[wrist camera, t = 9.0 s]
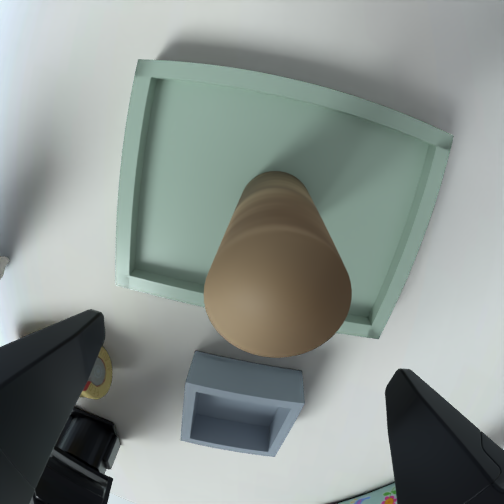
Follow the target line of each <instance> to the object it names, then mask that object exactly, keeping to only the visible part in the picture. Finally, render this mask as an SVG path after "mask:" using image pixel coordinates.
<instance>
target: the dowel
mask: <svg viewBox="0 0 504 504" xmlns="http://www.w3.org/2000/svg"><path fill="white" fill-rule="evenodd" d="M351 300H352V288H351V281H350V278H349V274H348V272H347V270H346V268H345V266H344V263H343V261H342V259H341V257H340V255H339V253H338V251H337V249H336V246H335V244H334V242H333V240H332V238H331V236H330V234H329V232H328V230H327V228H326V226H325V224H324V222H323V220H322V218H321V216H320V214H319V212H318V210H317V208H316V206H315V204H314V202H313V200H312V198H311V196H310V194H309V193H308V191H307V189H306V187H305V186H304V184H303V183H302V182H301V181H300V180H299V179H298V178H296V177H295V176H293V175H291V174H289V173H286V172H281V171H269V172H265V173H262V174H260V175H258V176H256V177H255V178H253V179H252V180H251V181H250V182H249V183H248V184H247V185H246V187H245V189H244V190H243V193H242V195H241V197H240V199H239V202H238V204H237V206H236V209H235V211H234V213H233V215H232V218H231V220H230V222H229V225H228V227H227V229H226V232H225V234H224V236H223V239H222V241H221V244H220V246H219V248H218V251H217V253H216V255H215V258H214V260H213V263H212V265H211V267H210V270H209V272H208V275H207V277H206V281H205V285H204V304H205V309H206V312H207V315H208V317H209V319H210V321H211V323H212V325H213V326H214V328H215V329H216V330H217V332H218V333H219V334H220V335H221V336H222V337H223V338H224V339H226V340H227V341H228V342H229V343H231V344H232V345H234V346H235V347H237V348H239V349H241V350H243V351H245V352H248V353H251V354H254V355H258V356H263V357H274V358H281V357H290V356H296V355H300V354H303V353H306V352H308V351H311V350H313V349H315V348H317V347H319V346H321V345H322V344H323V343H325V342H326V341H328V340H329V339H330V338H331V337H332V336H333V335H334V334H335V333H336V332H337V331H338V330H339V328H340V327H341V326H342V324H343V323H344V321H345V319H346V317H347V315H348V312H349V309H350V305H351Z"/></svg>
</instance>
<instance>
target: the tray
mask: <svg viewBox="0 0 504 504" xmlns="http://www.w3.org/2000/svg"><path fill="white" fill-rule="evenodd" d="M453 137H454V136H453V135H451V134H449V133H447V132H445V131H442V130H440V129H438V128H436V127H434V126H432V125H429V124H427V123H425V122H422V121H420V120H418V119H415V118H413V117H411V116H408V115H406V114H403V113H401V112H398V111H396V110H393V109H390V108H388V107H385V106H382V105H379V104H377V103H374V102H371V101H368V100H365V99H362V98H359V97H356V96H353V95H350V94H346V93H343V92H340V91H336V90H333V89H330V88H326V87H322V86H319V85H315V84H311V83H307V82H303V81H299V80H295V79H290V78H286V77H281V76H277V75H272V74H267V73H262V72H256V71H251V70H245V69H239V68H232V67H225V66H218V65H210V64H201V63H191V62H180V61H165V60H141V59H138V63H137V67H136V72H135V76H134V81H133V86H132V92H131V97H130V103H129V109H128V115H127V121H126V128H125V135H124V142H123V150H122V159H121V168H120V179H119V190H118V204H117V223H116V259H115V277H116V285H117V286H121V287H124V288H128V289H132V290H135V291H139V292H143V293H147V294H151V295H155V296H159V297H163V298H167V299H171V300H175V301H179V302H183V303H187V304H192V305H196V306H200V307H205V304H204V285H205V281H206V277H207V275H208V272H209V270H210V267H211V265H212V263H213V260H214V258H215V255H216V253H217V251H218V248H219V246H220V244H221V241H222V239H223V236H224V234H225V232H226V229H227V227H228V225H229V222H230V220H231V218H232V215H233V213H234V211H235V209H236V206H237V204H238V202H239V199H240V197H241V195H242V193H243V190H244V189H245V187H246V185H247V184H248V183H249V182H250V181H251V180H252V179H253V178H255V177H256V176H258V175H260V174H262V173H265V172H269V171H281V172H286V173H289V174H291V175H293V176H295V177H296V178H298V179H299V180H300V181H301V182H302V183H303V184H304V186H305V187H306V189H307V191H308V193H309V194H310V196H311V198H312V200H313V202H314V204H315V206H316V208H317V210H318V212H319V214H320V216H321V218H322V220H323V222H324V224H325V226H326V228H327V230H328V232H329V234H330V236H331V238H332V240H333V242H334V244H335V246H336V249H337V251H338V253H339V255H340V257H341V259H342V261H343V263H344V266H345V268H346V270H347V272H348V274H349V278H350V281H351V288H352V300H351V305H350V309H349V312H348V315H347V317H346V319H345V321H344V323H343V324H342V326H341V327H340V328H339V330H338V331H337V332H336V333H340V334H347V335H353V336H360V337H367V338H374V339H379V337H380V335H381V333H382V331H383V329H384V327H385V325H386V323H387V321H388V319H389V317H390V315H391V313H392V311H393V309H394V307H395V305H396V302H397V300H398V298H399V296H400V294H401V291H402V289H403V287H404V285H405V282H406V280H407V278H408V275H409V273H410V270H411V268H412V266H413V263H414V261H415V258H416V256H417V253H418V250H419V248H420V245H421V243H422V240H423V237H424V235H425V232H426V229H427V226H428V223H429V220H430V218H431V215H432V212H433V209H434V205H435V202H436V199H437V196H438V193H439V190H440V186H441V183H442V179H443V176H444V172H445V169H446V165H447V161H448V157H449V153H450V149H451V145H452V141H453Z"/></svg>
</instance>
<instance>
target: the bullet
mask: <svg viewBox="0 0 504 504" xmlns="http://www.w3.org/2000/svg"><path fill="white" fill-rule="evenodd" d="M111 382H112V365H111V361H110V357H109V355H108V353H107V351H106V350H105V349H104V348H103V347H101V350H100V352H99V355H98V357H97V359H96V362H95V364H94V367H93V369H92V372H91V374H90V377H89V379H88V381H87V383H86V385H85V387H84V389H83V391H82V393H81V395H80V397H86V398H89V399H100V398H102V397H103V396H105V395H106V394H107V392H108V391H109V388H110V386H111Z"/></svg>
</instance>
